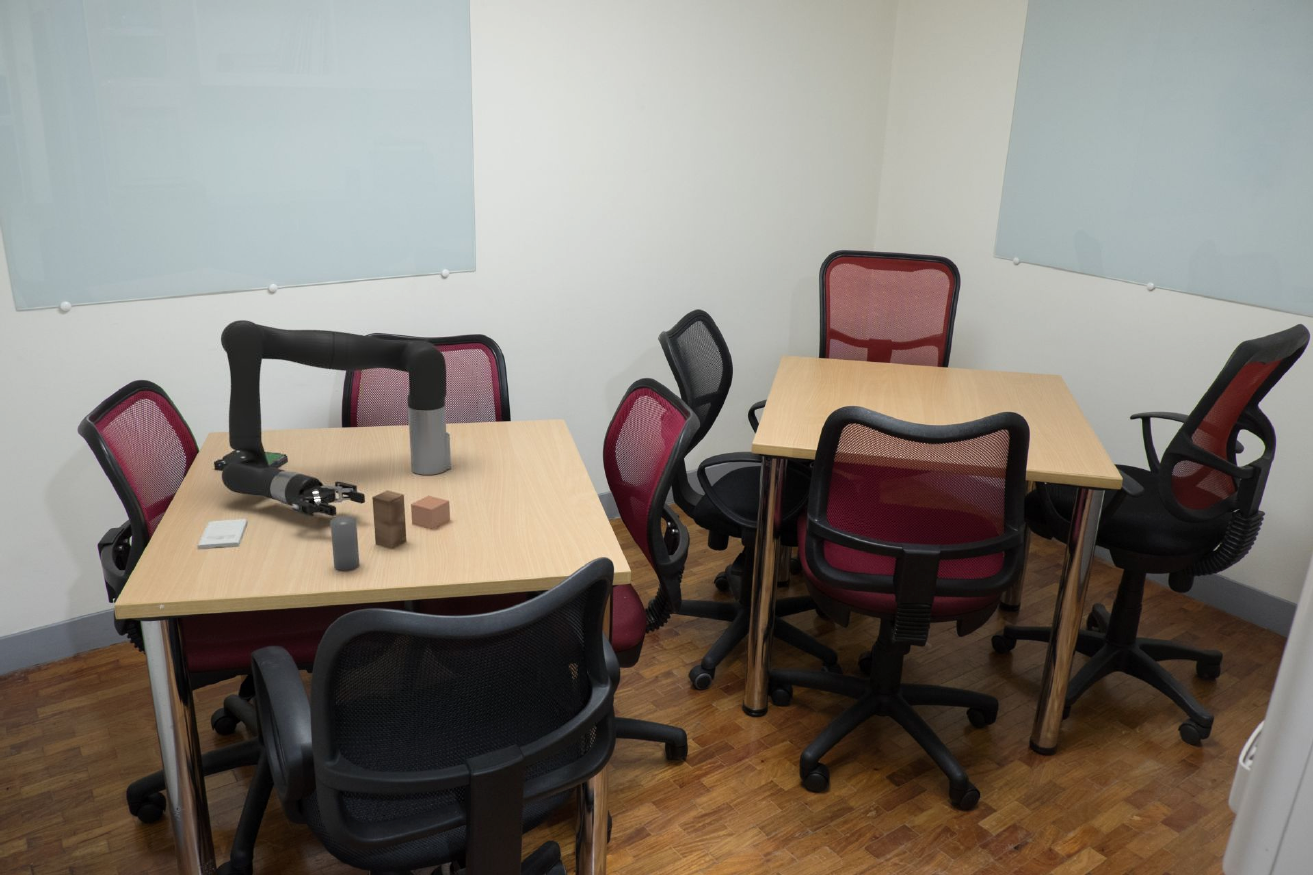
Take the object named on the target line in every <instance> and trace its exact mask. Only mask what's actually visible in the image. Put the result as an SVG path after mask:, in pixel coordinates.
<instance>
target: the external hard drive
mask: <svg viewBox="0 0 1313 875" xmlns="http://www.w3.org/2000/svg"><path fill="white" fill-rule="evenodd" d="M247 526H248V519H247V518H242V519H239V518H238V519H225V520H212V521H209V522H208V521H207V524H206V526H205V529H204V531H203V533H202V535H201V538H200V539H199V542H198V544H197V550H204V548H205V550H206V549H208V550H209V549H216V548H235V547H240V544H241V542H242V539H243V537H244V534H245V532H246V528H247Z"/></svg>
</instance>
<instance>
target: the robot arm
mask: <svg viewBox="0 0 1313 875" xmlns="http://www.w3.org/2000/svg"><path fill="white" fill-rule="evenodd" d="M220 336H221V337H220V343H221V346H222V349H223V350H224V351H225V353H226V356H227V361H228V366H229V374H230V394H229V407H228V435H229V436H228V442H229V447H230V448H231V449H232V450H233V451H234V450H238V451H243V453H244V455H245V458H246V460H245V461H237V462H232V463H230V464H228V465H227V466H226V467H225V468H224V469H223V471H221V480H222V483H223V485H224V486H225V488H226V489H228V490H229V491H231V492H233V493H236V494H240V495H249V496H261V497H264V498H268V499H271V500H275V501H277V502H279V503H282V504H284V505H288V506H291V507H292V511H294V512H297V513H300V514H303V515H305V516H308V517H313V516H314V514H316V515H321V514H324V515H327V516H330V517H334V516H336V515H337V506H336V505H333V504H332V503H342V502H343V501H351V502H353V503H358V504H364V503H366V495H365V494H364V493H362V492H359V491H358V486H357V485H355V484H352V483H347V482H343V481H335V482H334V486H330V485H324V484H323V483H322V482H321V480H320V479H319V478H317V477H313V476H310V475H306V474H303V473H299V472H295V471H290V470H289V471H288V470H285V469H281V468H269V464H268V461H267V458H266V454H265V452H266V451H265V448H264V445H263V441H262V440H263V439H262V437H263V436H262V410H261V407H262V406H261V388H260V387H261V386H260V385H261V384H260V382H261V370H262V368H261V367H262V363H263V361H262V360H279V361H287V362H292V363H295V364H298V365H299V364H300V365H304V366H308V367H313V368H319V369H323V370H324V369H325V370H333V371H335V370H336V371H343V372H345V371H346V372H354V371H355V372H357V371H365V370H372V369H388V370H395V371H399V372H404V373H407V374H408V386H409V388H408V389H409V390H408V395H407V409H408V410H407V411H408V412H407V413H408V415H407V416H408V427H409V428H408V430H409V448H410V450H409V452H410V465H411V466H410V468H411V471H412V473H414V474H416V475H421V476H422V475H423V476H424V475H425V476H429V475H430V476H431V475H437V474H442V473H444V472H446V471H447V470H450V469H452V463H451V462H452V461H451V460H452V459H451V437H450V436H451V435H450V433H448V432H447V416H446V415H447V414H446V396H447V364H446V359H445V357H444V354H443V353H442V352H441V350H439V348H438V347H437V346H435V345H434V343H431V342H429V341H426V340H420V339H419V340H417V339H416V340H414V339H413V340H410V339H409V340H405V339H404V340H403V339H384V338H379V337H375V336H369V335H362V334H356V333H350V332H342V331H335V330H323V329H322V330H321V329H284V328H277V327H272V326H267V325H262V324H257V323H255V322H253V321H250V320H246V319H245V320H243V319H241V320H235V321H232V322H231V323H229V324H227V325H226V326H225V328H224V329H223V330H222V332H221V335H220ZM336 494H338V498H337V496H336Z"/></svg>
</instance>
